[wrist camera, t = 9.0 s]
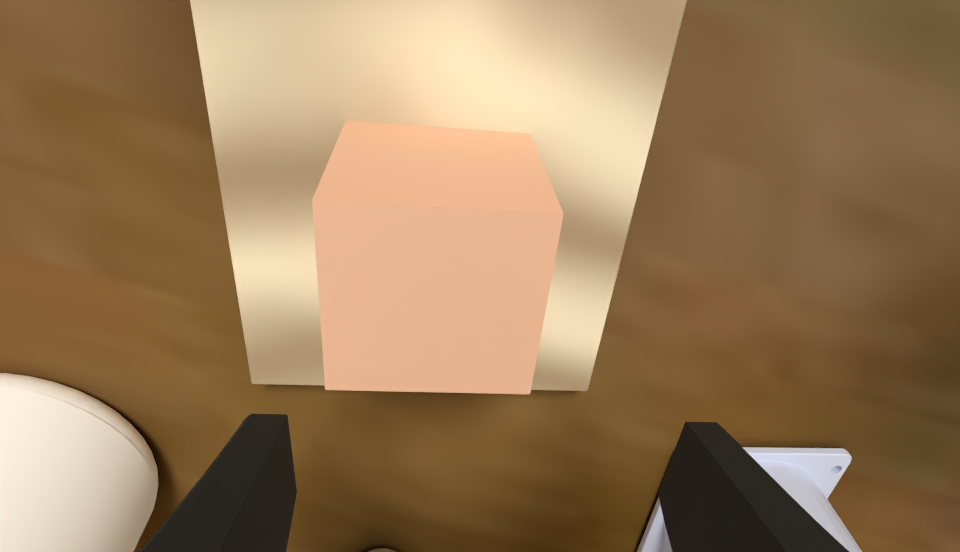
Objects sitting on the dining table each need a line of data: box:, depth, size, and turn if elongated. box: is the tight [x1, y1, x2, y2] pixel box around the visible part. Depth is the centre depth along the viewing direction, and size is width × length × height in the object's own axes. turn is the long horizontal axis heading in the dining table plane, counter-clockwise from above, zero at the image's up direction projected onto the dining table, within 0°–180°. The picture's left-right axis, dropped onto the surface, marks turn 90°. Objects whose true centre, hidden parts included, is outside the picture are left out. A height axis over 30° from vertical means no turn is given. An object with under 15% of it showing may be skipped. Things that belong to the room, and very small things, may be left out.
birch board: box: [190, 0, 687, 391], centre depth 18 cm, size 14×12×1 cm
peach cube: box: [312, 121, 564, 394], centre depth 15 cm, size 5×5×5 cm
